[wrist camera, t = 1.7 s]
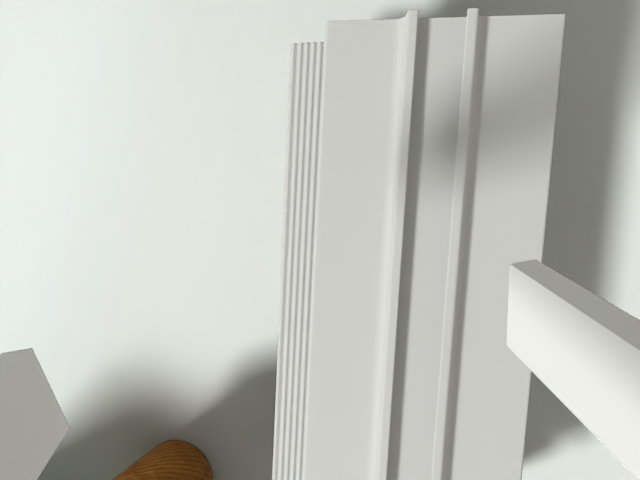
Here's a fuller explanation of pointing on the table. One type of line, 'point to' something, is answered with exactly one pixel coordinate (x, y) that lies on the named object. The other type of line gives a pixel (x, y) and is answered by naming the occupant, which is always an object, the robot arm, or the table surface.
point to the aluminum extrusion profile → (411, 244)
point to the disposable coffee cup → (170, 464)
